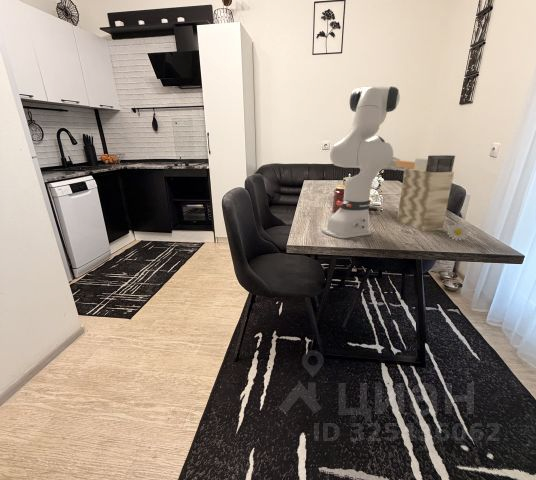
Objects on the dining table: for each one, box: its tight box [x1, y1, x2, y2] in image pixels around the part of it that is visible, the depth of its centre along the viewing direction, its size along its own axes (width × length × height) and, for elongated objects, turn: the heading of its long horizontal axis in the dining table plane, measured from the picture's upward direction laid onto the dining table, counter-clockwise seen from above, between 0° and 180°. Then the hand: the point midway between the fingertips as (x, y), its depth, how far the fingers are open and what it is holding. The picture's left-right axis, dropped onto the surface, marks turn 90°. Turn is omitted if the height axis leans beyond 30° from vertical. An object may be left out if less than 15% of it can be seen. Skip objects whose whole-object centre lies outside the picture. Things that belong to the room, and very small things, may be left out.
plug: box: [396, 157, 428, 171], centre depth 136 cm, size 24×6×5 cm, turn 12°
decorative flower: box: [435, 223, 470, 241], centre depth 120 cm, size 8×6×15 cm
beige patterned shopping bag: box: [396, 154, 456, 232], centre depth 131 cm, size 19×10×33 cm, turn 11°
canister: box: [331, 180, 347, 213], centre depth 161 cm, size 13×13×18 cm
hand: (396, 164), depth 150 cm, fingers open, 8 cm apart
